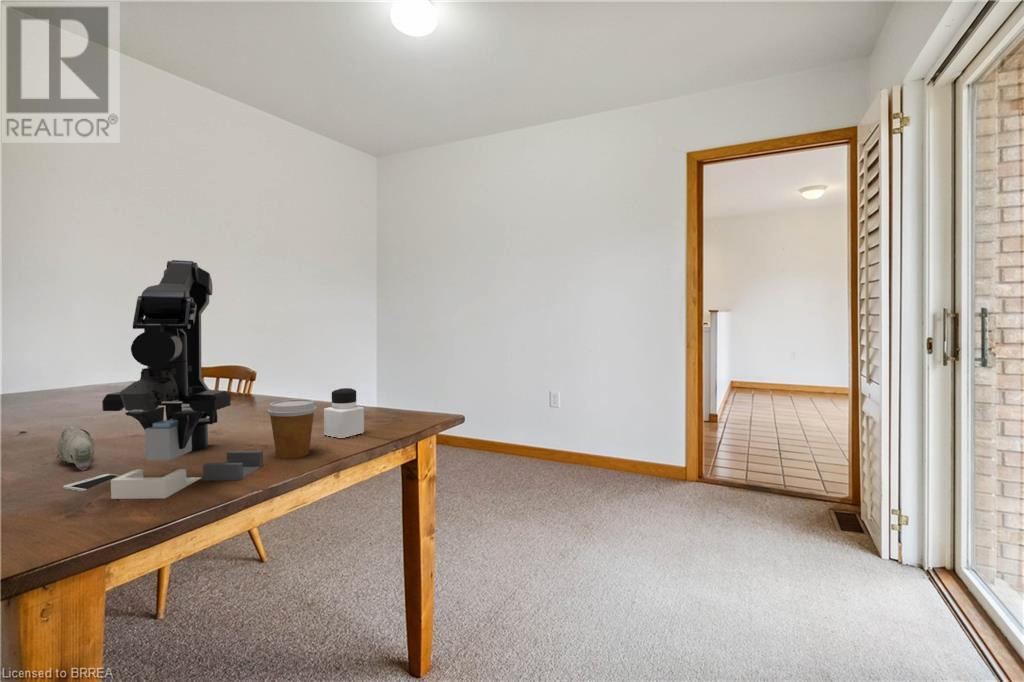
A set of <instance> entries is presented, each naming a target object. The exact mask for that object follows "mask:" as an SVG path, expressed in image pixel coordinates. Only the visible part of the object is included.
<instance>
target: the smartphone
mask: <svg viewBox="0 0 1024 682" xmlns="http://www.w3.org/2000/svg"><path fill="white" fill-rule="evenodd" d="M119 476H120V475H118V474H111V473H104V474H101V475H96V476H94V477H89V478H86V479H83V480H79V481H75V482H73V483H69V484H66V485H63V486H62V489H63V488H65V489H64V490H68V489H71V490H70V491H74V490H77V491H76V492H80V491H82V492H84V491H86V490H88V489H91V488H93V487H96V486H98V485H101V484H103V483H105V482H107V481H111V480H112V479H115V478H117V477H119Z"/></svg>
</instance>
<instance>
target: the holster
mask: <svg viewBox="0 0 1024 682" xmlns="http://www.w3.org/2000/svg"><path fill="white" fill-rule="evenodd" d="M263 465H264V450H229V451H227V452H226V462H206V463H204V464H202V480H203V481H240V480H242V479H244V478H245V477H247V476H249V475H250V474H252V473H253V472H254V471H256V470H258V469H259V468H261V467H262V466H263Z"/></svg>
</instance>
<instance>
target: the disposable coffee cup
mask: <svg viewBox="0 0 1024 682" xmlns="http://www.w3.org/2000/svg"><path fill="white" fill-rule="evenodd" d="M316 409H317V406H316V405H315V402H314V400H312V399H307V398H306V399H304V398H302V399H301V398H300V399H299V398H297V399H285V400H284V399H283V400H277V401H272V402H270V403H269V408H268V409H267V412H268V415H269V417H270V424H271V429H272V431H271V432H272V436H273V444H274V449H275V456H276V458H278V459H297V458H302V457H305V456H307V455H309V454H310V448H311V441H312V440H311V438H312V430H313V426H314V425H313V423H314V414H315V412H316Z"/></svg>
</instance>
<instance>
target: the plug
mask: <svg viewBox="0 0 1024 682" xmlns="http://www.w3.org/2000/svg"><path fill="white" fill-rule="evenodd" d="M144 437H145V438H144V439H145V461H146V462H147V461H172V460H174V459H176V458H179V457H181V456H183V455H185V454H189V453H191V452H190V451H192V438H191V436H190V439H189V441H188V443H187V445H186V447H185V448H184V449H179V443H178V420H164V419H163V420H162V421H159V422H156V423H153V426H152V427H149V428H146V429H145V430H144ZM188 452H189V453H188Z"/></svg>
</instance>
